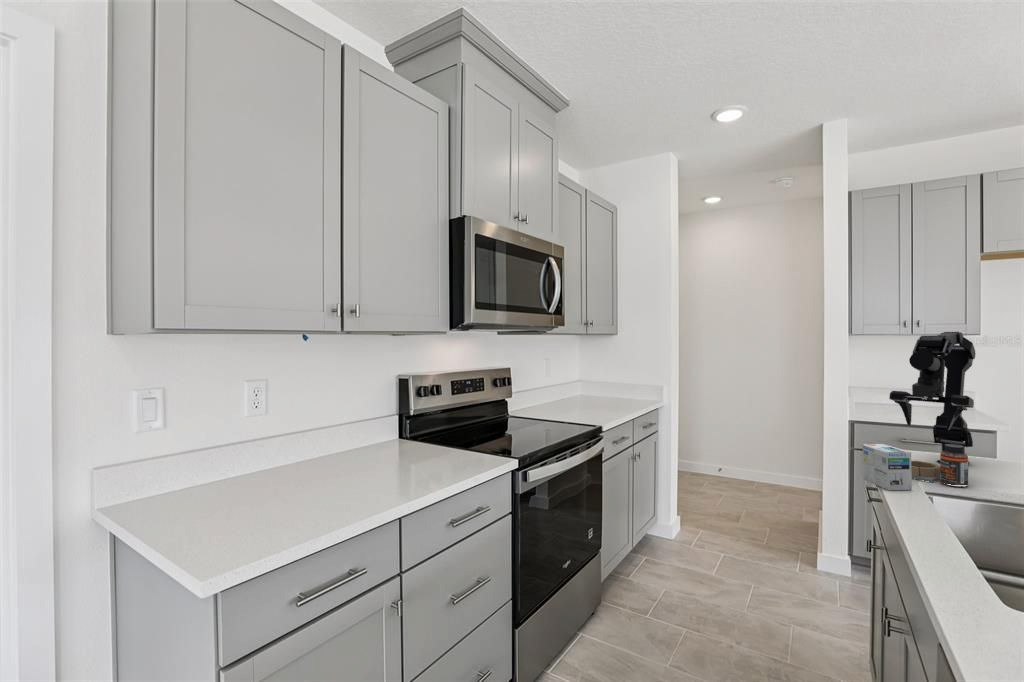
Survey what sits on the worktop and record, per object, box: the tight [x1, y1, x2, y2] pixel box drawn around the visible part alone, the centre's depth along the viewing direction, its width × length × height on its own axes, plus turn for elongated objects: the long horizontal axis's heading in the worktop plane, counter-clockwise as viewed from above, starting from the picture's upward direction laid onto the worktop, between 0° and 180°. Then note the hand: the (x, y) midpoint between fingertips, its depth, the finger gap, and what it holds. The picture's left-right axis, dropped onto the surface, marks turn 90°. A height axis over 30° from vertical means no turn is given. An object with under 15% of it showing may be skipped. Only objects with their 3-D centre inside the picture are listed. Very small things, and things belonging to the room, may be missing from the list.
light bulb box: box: [862, 443, 913, 491], centre depth 143 cm, size 11×7×11 cm, turn 179°
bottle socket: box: [911, 460, 941, 483], centre depth 150 cm, size 10×10×4 cm
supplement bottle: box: [939, 444, 969, 486], centre depth 141 cm, size 6×6×11 cm
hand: (927, 427), depth 149 cm, fingers open, 9 cm apart
